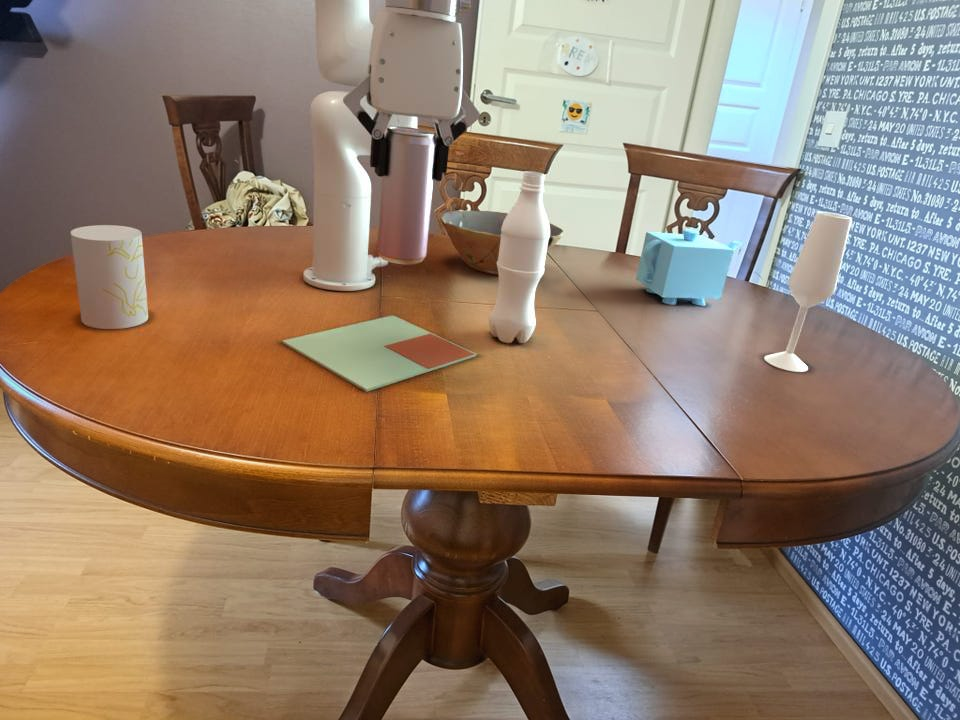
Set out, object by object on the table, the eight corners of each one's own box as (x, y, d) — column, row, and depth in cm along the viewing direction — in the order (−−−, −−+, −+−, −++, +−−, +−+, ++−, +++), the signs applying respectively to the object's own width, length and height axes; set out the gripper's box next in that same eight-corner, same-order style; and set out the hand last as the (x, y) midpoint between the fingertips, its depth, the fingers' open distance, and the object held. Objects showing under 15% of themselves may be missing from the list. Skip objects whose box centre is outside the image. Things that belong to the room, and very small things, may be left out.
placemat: (392, 317, 105) (393, 314, 105) (476, 356, 94) (476, 353, 94) (282, 343, 90) (282, 339, 90) (366, 392, 80) (366, 388, 80)
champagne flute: (813, 365, 108) (864, 218, 98) (801, 375, 103) (853, 221, 93) (771, 351, 111) (816, 208, 102) (758, 360, 106) (804, 211, 97)
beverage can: (378, 249, 83) (386, 124, 77) (426, 254, 84) (437, 130, 78) (375, 262, 78) (383, 129, 72) (425, 267, 79) (437, 136, 73)
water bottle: (537, 335, 105) (564, 174, 95) (525, 350, 99) (553, 179, 89) (495, 325, 107) (517, 167, 97) (480, 339, 100) (502, 171, 91)
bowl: (579, 281, 138) (588, 233, 134) (490, 294, 122) (497, 241, 118) (499, 249, 155) (505, 207, 151) (412, 257, 139) (416, 210, 135)
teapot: (647, 305, 128) (663, 234, 122) (622, 287, 137) (636, 221, 132) (744, 308, 134) (763, 241, 128) (713, 290, 143) (730, 227, 138)
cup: (121, 333, 87) (112, 244, 82) (67, 322, 88) (55, 233, 84) (161, 314, 95) (154, 231, 90) (110, 304, 96) (101, 222, 91)
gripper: (488, 16, 76) (469, 176, 83) (334, -9, 70) (329, 165, 78) (509, 14, 69) (487, 188, 77) (342, -13, 64) (335, 177, 71)
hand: (408, 175), depth 77 cm, fingers closed on beverage can, 6 cm apart
